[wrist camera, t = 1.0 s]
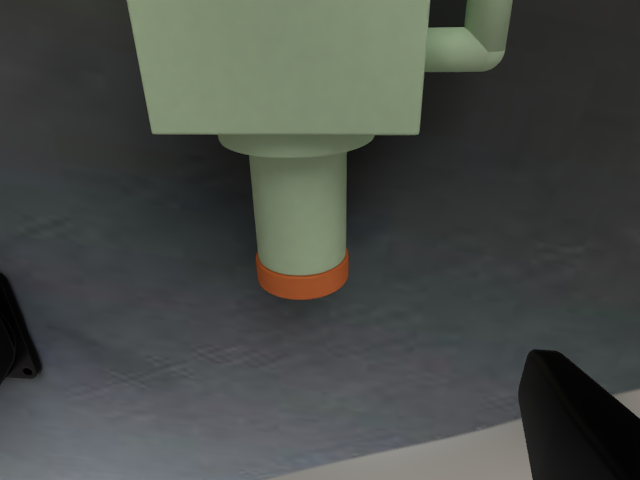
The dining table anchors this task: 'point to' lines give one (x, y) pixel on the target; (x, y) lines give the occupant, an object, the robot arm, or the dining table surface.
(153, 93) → the jug
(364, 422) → the dining table surface
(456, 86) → the dining table surface
